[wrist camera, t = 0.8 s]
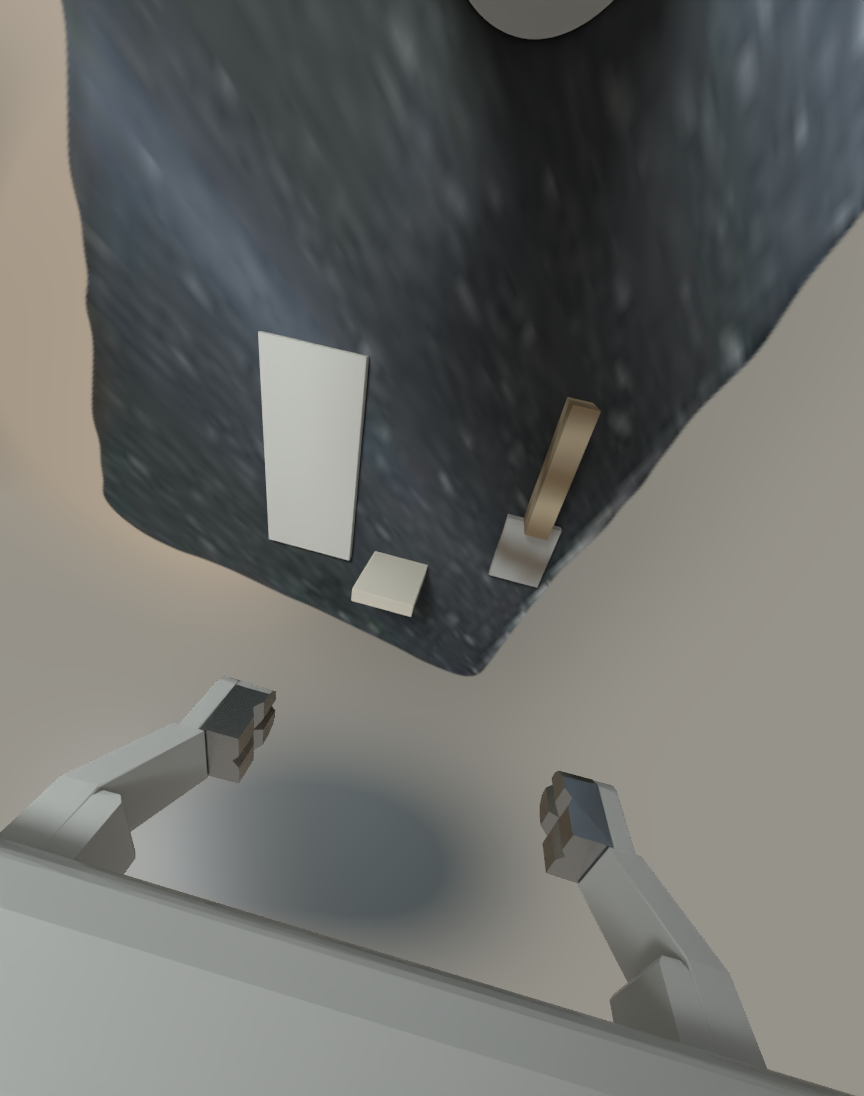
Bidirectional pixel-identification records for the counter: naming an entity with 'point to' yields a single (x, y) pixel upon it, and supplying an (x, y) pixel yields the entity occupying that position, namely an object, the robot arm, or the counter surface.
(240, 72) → the counter surface
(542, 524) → the wooden handled scraper
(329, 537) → the board
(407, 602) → the tile
